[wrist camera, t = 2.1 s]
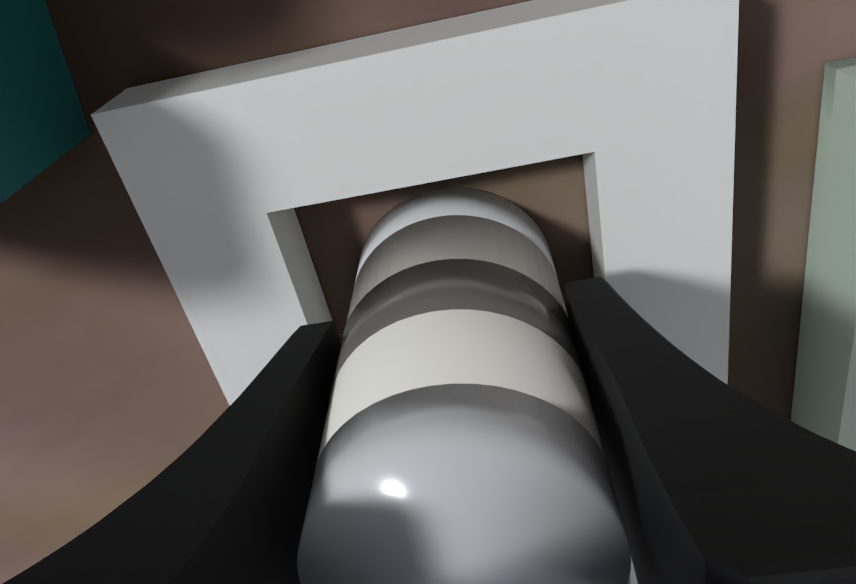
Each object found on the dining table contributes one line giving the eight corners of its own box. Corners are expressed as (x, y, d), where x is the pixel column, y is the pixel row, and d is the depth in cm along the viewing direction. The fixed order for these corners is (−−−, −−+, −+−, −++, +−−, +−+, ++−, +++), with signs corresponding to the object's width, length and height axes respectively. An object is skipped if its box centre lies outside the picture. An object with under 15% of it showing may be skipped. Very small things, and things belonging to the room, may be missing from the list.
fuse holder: (702, 618, 20) (719, 669, 19) (374, 651, 22) (370, 700, 20) (705, -38, 11) (739, -24, 10) (127, 88, 12) (90, 115, 11)
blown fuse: (563, 339, 15) (640, 652, 9) (383, 366, 15) (345, 680, 10) (541, 168, 13) (622, 431, 7) (334, 207, 13) (247, 482, 7)
